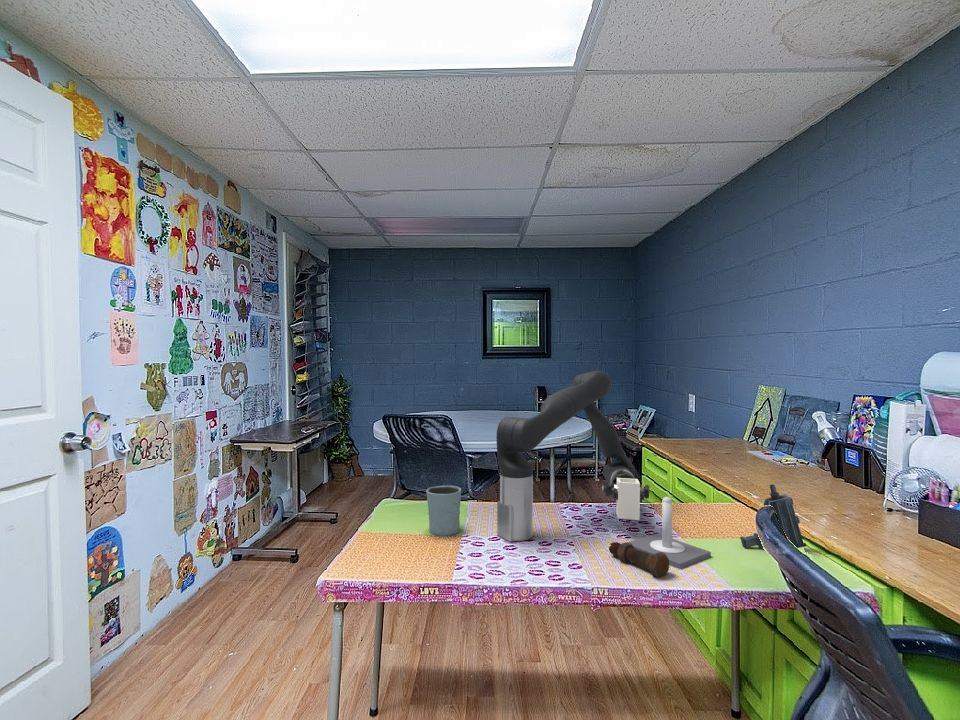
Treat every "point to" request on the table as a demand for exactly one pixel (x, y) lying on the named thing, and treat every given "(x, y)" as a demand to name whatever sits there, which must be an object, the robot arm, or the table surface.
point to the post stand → (670, 542)
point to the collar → (628, 499)
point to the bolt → (641, 558)
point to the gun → (780, 520)
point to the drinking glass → (444, 509)
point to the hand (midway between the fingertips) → (628, 497)
